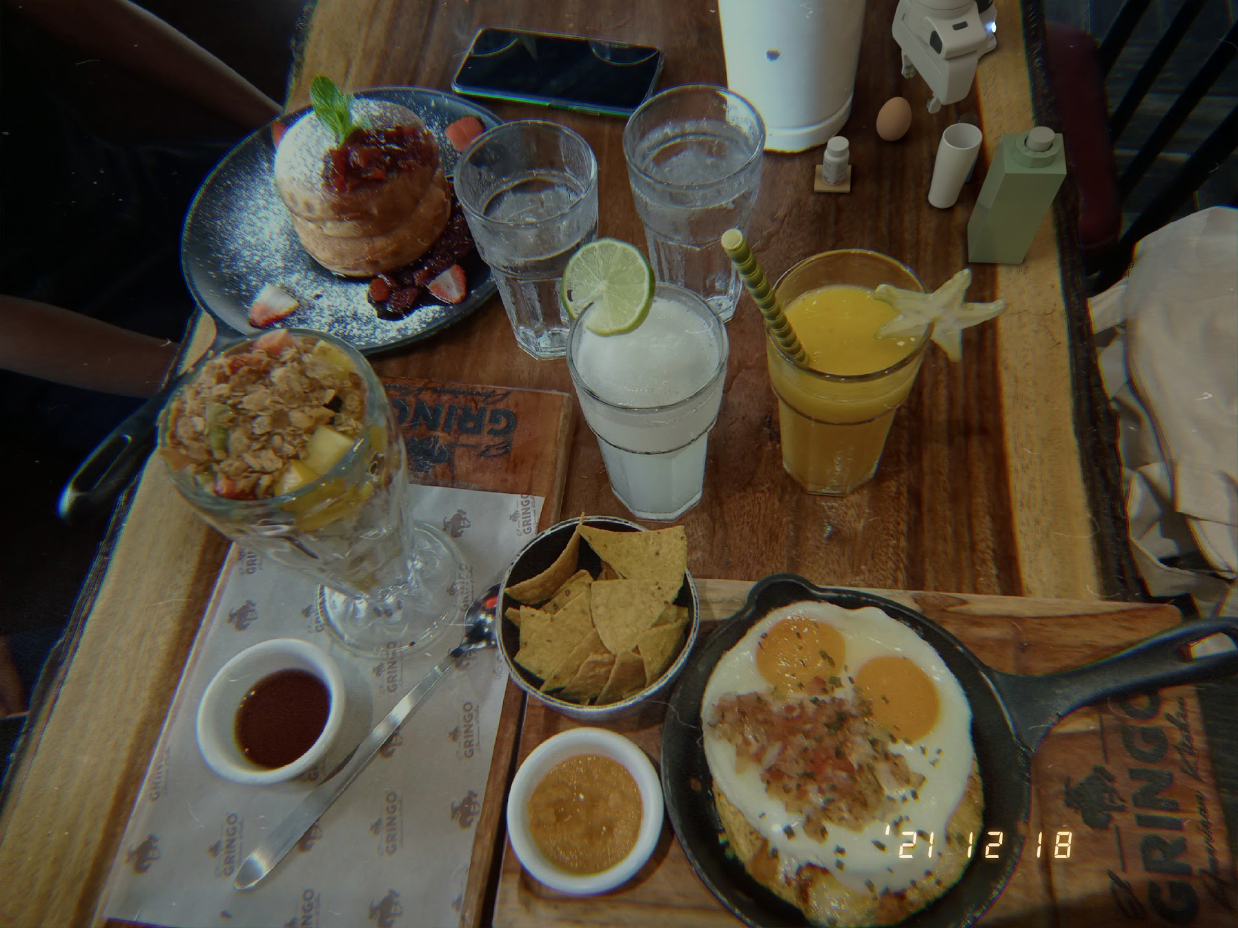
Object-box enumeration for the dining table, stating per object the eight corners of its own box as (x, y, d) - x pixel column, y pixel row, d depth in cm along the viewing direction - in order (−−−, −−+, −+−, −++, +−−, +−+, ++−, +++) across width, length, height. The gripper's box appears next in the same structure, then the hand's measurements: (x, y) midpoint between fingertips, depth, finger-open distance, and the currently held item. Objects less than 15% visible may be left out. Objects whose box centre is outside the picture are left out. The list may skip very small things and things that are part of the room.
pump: (1024, 137, 118) (1029, 126, 116) (1049, 137, 117) (1053, 126, 115) (1025, 153, 116) (1030, 142, 114) (1050, 153, 116) (1055, 142, 114)
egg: (891, 154, 150) (900, 116, 142) (866, 139, 153) (873, 101, 145) (913, 137, 151) (923, 98, 143) (888, 122, 154) (896, 83, 146)
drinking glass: (916, 194, 144) (934, 131, 131) (947, 182, 145) (969, 117, 131) (935, 217, 141) (956, 154, 128) (967, 204, 142) (991, 140, 128)
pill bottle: (847, 170, 149) (852, 135, 142) (843, 187, 147) (849, 153, 140) (823, 168, 150) (827, 134, 143) (819, 185, 148) (823, 151, 141)
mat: (815, 167, 152) (816, 164, 151) (850, 167, 150) (851, 165, 150) (813, 192, 149) (814, 189, 148) (849, 192, 147) (849, 190, 147)
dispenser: (967, 225, 139) (1006, 123, 119) (1018, 226, 138) (1067, 123, 117) (968, 262, 136) (1009, 163, 115) (1021, 264, 134) (1072, 163, 113)
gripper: (891, -21, 115) (876, 61, 127) (950, 56, 105) (928, 136, 118) (929, -33, 115) (911, 50, 127) (992, 44, 105) (966, 125, 118)
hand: (919, 92), depth 122 cm, fingers open, 8 cm apart
